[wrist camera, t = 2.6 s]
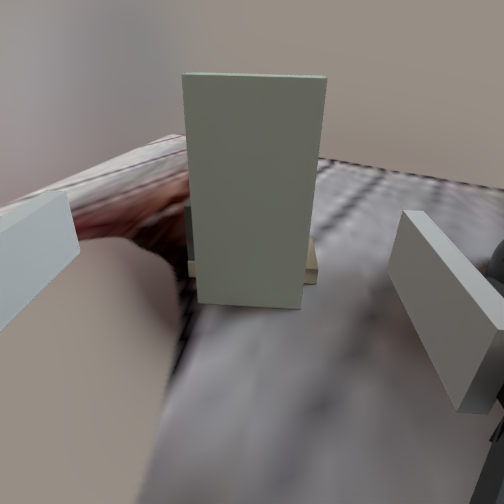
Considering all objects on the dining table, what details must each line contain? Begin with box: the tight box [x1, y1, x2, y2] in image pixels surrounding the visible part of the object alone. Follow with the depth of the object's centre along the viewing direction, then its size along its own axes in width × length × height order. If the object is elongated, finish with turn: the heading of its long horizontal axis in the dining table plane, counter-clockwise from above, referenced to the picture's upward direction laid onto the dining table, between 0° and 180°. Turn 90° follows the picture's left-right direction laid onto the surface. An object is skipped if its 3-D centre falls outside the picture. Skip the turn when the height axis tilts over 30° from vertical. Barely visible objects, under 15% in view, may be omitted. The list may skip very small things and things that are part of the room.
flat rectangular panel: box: [182, 72, 327, 309], centre depth 24 cm, size 8×3×16 cm, turn 86°
